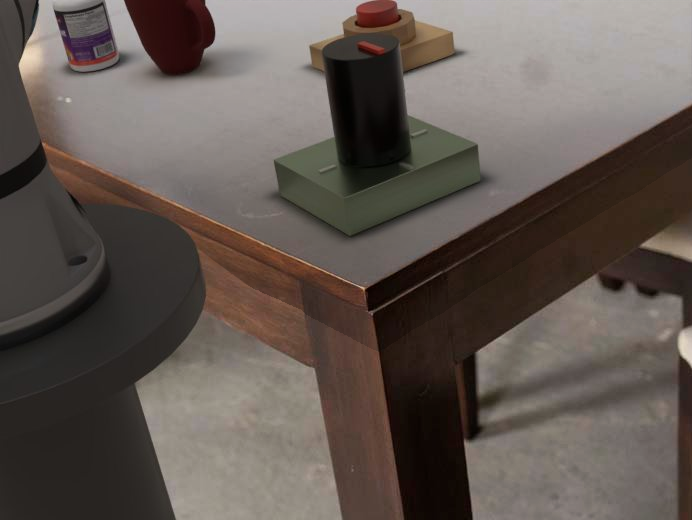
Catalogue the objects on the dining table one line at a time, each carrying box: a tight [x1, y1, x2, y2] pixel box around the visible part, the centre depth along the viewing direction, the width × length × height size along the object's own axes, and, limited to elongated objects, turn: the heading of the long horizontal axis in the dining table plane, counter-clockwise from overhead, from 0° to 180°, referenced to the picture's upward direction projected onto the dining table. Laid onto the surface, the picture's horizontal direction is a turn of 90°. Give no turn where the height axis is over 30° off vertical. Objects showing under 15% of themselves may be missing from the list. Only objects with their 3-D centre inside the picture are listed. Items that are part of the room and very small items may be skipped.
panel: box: [273, 114, 482, 237], centre depth 84 cm, size 12×10×3 cm
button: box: [355, 0, 399, 28], centre depth 106 cm, size 4×4×2 cm
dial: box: [322, 33, 411, 167], centre depth 81 cm, size 6×6×8 cm
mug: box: [123, 0, 216, 76], centre depth 111 cm, size 11×8×10 cm
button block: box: [308, 8, 456, 73], centre depth 108 cm, size 11×9×4 cm
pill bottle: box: [51, 0, 120, 73], centre depth 116 cm, size 5×5×10 cm
